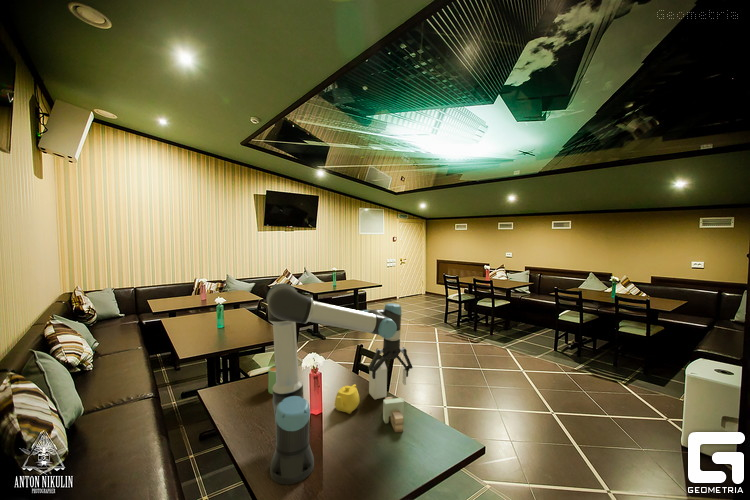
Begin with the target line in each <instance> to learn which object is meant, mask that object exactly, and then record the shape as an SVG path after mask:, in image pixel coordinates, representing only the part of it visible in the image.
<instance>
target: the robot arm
mask: <svg viewBox="0 0 750 500" xmlns="http://www.w3.org/2000/svg"><path fill="white" fill-rule="evenodd" d="M265 298H266V299H265V300H266V303H267V315H268V322H270V323H271V324H272V332H273V348H274V349H273V350H274V351H273V352H274V365H275V368H276V383H275V385H274V386H273V394H272V406H273V407H272V408H273V413H274V423H275V450H274V453H273V456H272V459H271V462H270V466H269V467H270V469H269V470H270V471H269V472H270V473H269V475H270V477H271V479H272V480H273V481H274V482H275V483H276V484H280V485H284V484H285V485H287V486H288V485H289V486H290V485H294V484H298V483H301V482H302V481H304V480H305V479H307V478H308V477H309V476H310V475H311V474H312V472H313V471H314V468H315V459H314V458H315V457H314V454H313V452H312V449H311V445H310V417H311V408H310V404H309V402H308V400H307V399H306V398H304V385H303V384H304V383H303V381H302V379H300V378H299V361H298V346H297V345H298V343H297V325H296V323H297V324H299V323H300V324H303V325H304V324H307V323H308V322H309V323H310V322H311V323H314V324H321V325H326V326H331V327H337V328H340V329H341V328H342V329H347V330H352V331H356V332H357V331H358V332H363V333H368V334H373V335H378V336H380V337H381V338H383V343H382V349H379V348H376V349H375V353H374V355H373V357H372V360H371V362H370V363H369V365H368V367H367V369H368V370H370V371H372V378H373V379H374V385H375V387H377V370H378V368H379V367H380V366H381V365H382V364H383V362H386V361H388V360H396V359H397V360H398V361H399V362H400V364H401V365H402V366H403V369H402V384H403V385H404V386H406V385H407V378H408V377H409V372H410V370H411V369H413V365H412V362H411V360H410V358H409V356H408V353H407V352H408V350H407V349H406V348H405V347H404V346H403V347H402V348H400V347H401V329H402V327H401V324H402V315H403V314H402V306H401V304H398V303H391V302H389V303H385V305H384V308H382V309H375V308H374V309H362V310H358V309H357V310H356V309H352V308H348V307H345V306H344V307H343V306H338V305H334V304H329V303H325V302H320V301H317V300H314V299H313V297H311V296H306V295H304V294H301V293H300V292H298V291H297V289H296V288H295V287H294V286H292V285H290V284H288V283H283V282H281V283H276V284H275V285H273V286H272V287H271V288H270V289H269V290H268V292H267V294H266V297H265ZM400 353H402V355H403V357H404V359H405V362H406V363H407V364H406V363H405V362H404V360H403V359H402V358H401V357H400ZM381 354H382V355H381ZM380 355H381V357H380ZM377 360H379V361H378V362H377V363H376V361H377ZM375 363H376V364H375ZM374 365H375V366H374ZM307 476H308V477H307ZM306 477H307V478H306Z"/></svg>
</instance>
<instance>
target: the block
mask: <svg viewBox="0 0 750 500" xmlns="http://www.w3.org/2000/svg"><path fill="white" fill-rule="evenodd" d="M395 410H399V411H400V413H401V414H402V416H403V422H404V421H405V400H404V399H403V397H398V398H393V399H386V400H385V399H383V403H382V420H383V422H384V424H389V422H390V420H389V416H392V411H395Z"/></svg>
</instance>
